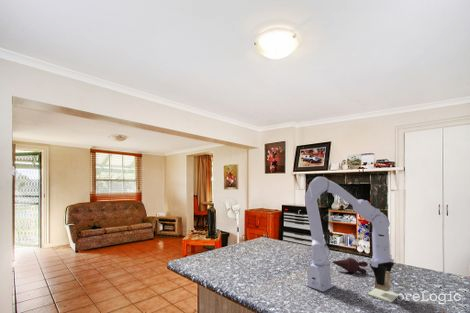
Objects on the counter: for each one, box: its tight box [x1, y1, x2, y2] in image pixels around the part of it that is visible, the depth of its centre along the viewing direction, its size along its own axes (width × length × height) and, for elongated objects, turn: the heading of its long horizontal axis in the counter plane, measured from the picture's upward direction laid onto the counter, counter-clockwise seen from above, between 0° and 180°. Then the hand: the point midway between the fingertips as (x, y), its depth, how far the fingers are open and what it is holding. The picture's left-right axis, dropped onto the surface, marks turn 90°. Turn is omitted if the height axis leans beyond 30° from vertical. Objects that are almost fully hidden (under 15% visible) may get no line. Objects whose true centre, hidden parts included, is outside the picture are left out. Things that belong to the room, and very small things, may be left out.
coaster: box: [367, 287, 400, 304], centre depth 96 cm, size 8×8×1 cm
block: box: [373, 271, 392, 292], centre depth 96 cm, size 4×4×6 cm
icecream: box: [332, 257, 369, 275], centre depth 121 cm, size 7×7×15 cm
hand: (382, 282), depth 96 cm, fingers closed on block, 4 cm apart
